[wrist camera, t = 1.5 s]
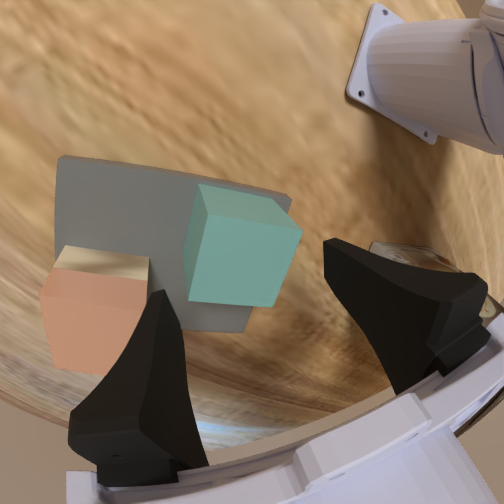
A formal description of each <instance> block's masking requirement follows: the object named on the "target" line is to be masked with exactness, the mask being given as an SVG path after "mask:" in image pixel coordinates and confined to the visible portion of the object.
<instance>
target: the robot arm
mask: <svg viewBox="0 0 504 504" xmlns="http://www.w3.org/2000/svg"><path fill="white" fill-rule="evenodd" d="M383 12H384V13H385V15H384V14H383ZM479 15H480V17H481V19H443V20H429V21H418V22H409V23H406V22H405V21H404V20H402V19H401V18H400V17H398V16H397V15H396V14H394V13H393V12H392V11H390V10H389V9H387V8H386V7H384V6H383V5H382V4H380V3H374V4H372V6H371V9H370V12H369V16H368V19H367V23H366V26H365V30H364V33H363V36H362V40H361V43H360V46H359V50H358V53H357V56H356V59H355V63H354V66H353V69H352V72H351V75H350V79H349V82H348V85H347V88H346V92H347V95H348V96H349V97H350V98H352V99H354V100H356V101H358V102H360V103H362V104H364V105H366V106H368V107H370V108H371V109H373V110H375V111H377V112H379V113H380V114H382V115H384V116H386V117H387V118H389V119H391V120H392V121H394V122H396V123H397V124H399V125H401V126H402V127H404V128H405V129H407V130H409V131H410V132H412V133H413V134H415V135H416V136H418V137H419V138H421V139H422V140H424V141H425V142H427V143H428V144H431V145H433V144H435V142H436V140H437V137H438V135H439V136H443V137H446V138H449V139H452V140H455V141H458V142H461V143H463V144H466V145H469V146H472V147H474V148H477V149H480V150H482V151H485V152H487V153H491V154H495V155H503V157H504V0H486V1H485V3H484V5H483V7H482V8H481V9H480V11H479ZM359 91H360V92H361V97H359V95H358V92H359ZM424 132H425V135H424ZM323 252H324V278H325V279H326V281H327V283H328V285H329V286H330V288H331V290H332V291H333V293H334V295H335V296H336V297H337V298H338V300H339V301H340V302H341V304H342V305H343V306H344V307H345V309H346V310H347V311H348V312H349V314H350V315H351V316H352V317H353V319H354V320H355V321H356V323H357V324H358V325H359V326H360V328H361V329H362V331H363V332H364V334H365V335H366V337H367V339H368V340H369V342H370V344H371V345H372V347H373V349H374V351H375V352H376V354H377V356H378V358H379V360H380V362H381V364H382V366H383V368H384V370H385V372H386V374H387V376H388V378H389V380H390V383H391V385H392V387H393V390H394V392H395V394H396V396H395V397H393V398H392V399H390V400H388V401H386V402H384V403H383V404H381V405H379V406H377V407H375V408H373V409H371V410H369V411H367V412H365V413H363V414H361V415H359V416H357V417H355V418H353V419H351V420H348V421H346V422H344V423H342V424H339V425H337V426H335V427H333V428H330V429H328V430H325V431H323V432H321V433H318V434H316V435H313V436H311V437H308V438H305V439H303V440H300V441H297V442H294V443H292V444H289V445H286V446H283V447H280V448H277V449H273V450H270V451H267V452H264V453H261V454H257V455H253V456H250V457H246V458H242V459H238V460H235V461H230V462H226V463H222V464H217V465H212V466H209V463H208V460H207V457H206V455H205V451H204V448H203V445H202V442H201V439H200V435H199V432H198V429H197V425H196V421H195V417H194V414H193V409H192V405H191V401H190V396H189V391H188V385H187V374H186V362H185V350H184V341H183V335H182V330H181V325H180V322H179V320H178V317H177V315H176V313H175V311H174V309H173V307H172V305H171V302H170V300H169V298H168V296H167V293H166V291H165V289H163V290H159V291H156V292H152V293H151V294H150V296H149V299H148V301H147V303H146V305H145V308H144V310H143V312H142V315H141V317H140V319H139V321H138V323H137V325H136V328H135V330H134V332H133V334H132V335H131V337H130V339H129V341H128V343H127V345H126V347H125V348H124V350H123V352H122V353H121V355H120V356H119V358H118V360H117V361H116V362H115V364H114V365H113V367H112V368H111V369H110V371H109V372H108V373H107V375H106V376H105V377H104V378H103V380H102V381H101V382H100V383H99V384H98V386H97V387H96V388H95V389H94V390H93V391H92V392H91V393H90V394H89V395H88V396H87V397H86V398H85V399H84V400H83V401H82V402H81V403H80V404H79V405H78V406H77V407H76V408H74V409H73V410H72V411H71V413H70V420H69V431H68V445H69V446H70V447H71V449H72V450H73V451H74V452H76V453H77V454H79V455H80V456H82V457H83V458H85V459H87V460H88V461H90V462H92V463H94V464H95V465H97V472H93V471H84V470H83V471H82V470H67V471H66V494H67V504H498V502H497V501H496V499H495V497H494V496H493V494H492V492H491V491H490V489H489V487H488V486H487V484H486V483H485V481H484V479H483V478H482V476H481V474H480V473H479V471H478V470H477V468H476V467H475V465H474V464H473V462H472V461H471V459H470V457H469V456H468V454H467V453H466V451H465V450H464V448H463V447H462V445H461V444H460V443H459V441H458V439H457V438H456V436H455V435H454V434H453V432H455V431H456V430H457V429H458V428H459V427H461V426H462V425H463V424H464V423H465V422H466V421H467V420H469V419H470V418H471V417H472V416H473V415H474V414H475V413H476V412H477V411H479V410H480V409H481V408H482V407H483V406H484V405H485V404H486V403H487V402H488V401H489V400H490V399H491V398H492V397H493V396H494V395H495V394H496V393H497V392H498V391H499V390H500V389H501V388H502V387H503V386H504V314H503V313H500V314H499V315H498V316H497V317H496V318H494V319H493V320H492V321H491V322H490V323H489V324H488V325H487V327H486V328H485V327H484V326H483V325H482V323H483V319H482V318H481V317H480V316H479V314H480V311H481V309H482V307H483V304H484V302H485V299H486V296H487V293H488V285H487V283H486V282H485V281H484V280H483V279H481V278H480V277H479V276H478V275H477V274H475V273H460V272H445V271H437V270H430V269H425V268H420V267H415V266H411V265H407V264H404V263H400V262H397V261H394V260H391V259H388V258H385V257H382V256H380V255H377V254H374V253H372V252H369V251H367V250H364V249H362V248H360V247H357V246H355V245H352V244H350V243H348V242H345V241H343V240H340V239H337V238H332V239H329V240H326V241H323Z"/></svg>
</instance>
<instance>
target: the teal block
mask: <svg viewBox="0 0 504 504" xmlns="http://www.w3.org/2000/svg"><path fill="white" fill-rule="evenodd" d="M302 233H303V231H302V230H301V228H300V227H299V226H298V225H297V224H296V223H295V222H294V221H293V220H292V219H291V218H290V217H289V216H288V215H287V214H286V213H285V211H284V210H283V209H282V208H281V207H280V206H279V205H278V204H277V203H276V202H275V201H274V200H273V199H271V198H266V197H262V196H257V195H252V194H248V193H243V192H238V191H233V190H228V189H223V188H218V187H213V186H208V185H202V184H198V187H197V191H196V196H195V200H194V204H193V208H192V212H191V217H190V221H189V226H188V230H187V235H186V239H185V244H184V249H183V254H182V255H183V264H184V273H185V281H186V289H187V297H188V301H196V302H207V303H219V304H231V305H245V306H260V307H273V305H274V303H275V300H276V298H277V295H278V293H279V291H280V288H281V286H282V283H283V281H284V278H285V276H286V273H287V271H288V269H289V266H290V264H291V261H292V259H293V256H294V254H295V251H296V248H297V246H298V243H299V241H300V238H301V236H302Z"/></svg>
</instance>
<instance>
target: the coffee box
mask: <svg viewBox="0 0 504 504" xmlns="http://www.w3.org/2000/svg"><path fill="white" fill-rule="evenodd" d="M369 252H372V253H374V254H377V255H380V256H382V257H385V258H388V259H391V260H394V261H397V262H400V263H404V264H407V265H411V266H415V267H420V268H425V269H430V270H437V271H445V272H460V273H463V272H462V271H461V270H460V269H458V268H457V267H456V266H455V265H454V264H452V263H451V262H450V261H449V260H447V259H446V258H445V257H443V256H442V255H441V254H439V253H438V252H437V251H435V250H434V249H432V248H425V247H416V246H408V245H400V244H392V243H383V242H373V243H372V245H371V248H370V250H369ZM500 313H503V314H504V308H503V307H502V306H501V305H500V304H499V303H498V302H497V301H496V300H495V299H493V298H492V297H491V296H490V295H489V294H488V293H487V296H486V299H485V302H484V304H483V307H482V309H481V311H480V314H479V316H480V317H481V318H482V319H483V323H482V325H483V326H484V327H485V328H486V327H487V325H488V324H489V323H490V322H491V321H492V320H493V319H494V318H496V317H497V316H498V315H499V314H500ZM503 399H504V386H503V387H502V388H501V389H500V390H499V391H498V392H497V393H496V394H495V395H494V396H493V397H492V398H491V399H490V400H489V401H488V402H487V403H486V404H485V405H484V406H483V407H482V408H481V409H480V410H479V411H477V412H476V413H475V414H474V415H473V416H472V417H471V418H470V419H469V420H467V421H466V422H465V423H464V424H463V425H462V426H461V427H459V428H458V429H457V430H456V431H455V432H453V434H454V435H455V436H456V438H457V437H459V436H460V435H462V434H463V433H464V432H465V431H467V430H468V429H470V428H471V427H472V426H473V425H475V424H476V423H477V422H478V421H480V420H481V419H482V418H483V417H484V416H486V415H487V414H488V413H489V412H490V411H491V410H492V409H493V408H495V407H496V406H497V405H498V404H499V403H500V402H501V401H502V400H503Z"/></svg>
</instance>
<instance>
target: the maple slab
mask: <svg viewBox="0 0 504 504" xmlns="http://www.w3.org/2000/svg"><path fill="white" fill-rule="evenodd" d="M148 266H149V257H144V256H137V255H130V254H122V253H115V252H108V251H101V250H94V249H87V248H80V247H74V246H67V245H65V247H64V248H63V250H62V252H61V254H60V255H59V257H58V259H57V261H56V263H55V264H54V266H53V267H55V268H61V269H68V270H74V271H81V272H87V273H94V274H101V275H108V276H115V277H123V278H130V279H138V280H146V281H148Z"/></svg>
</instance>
